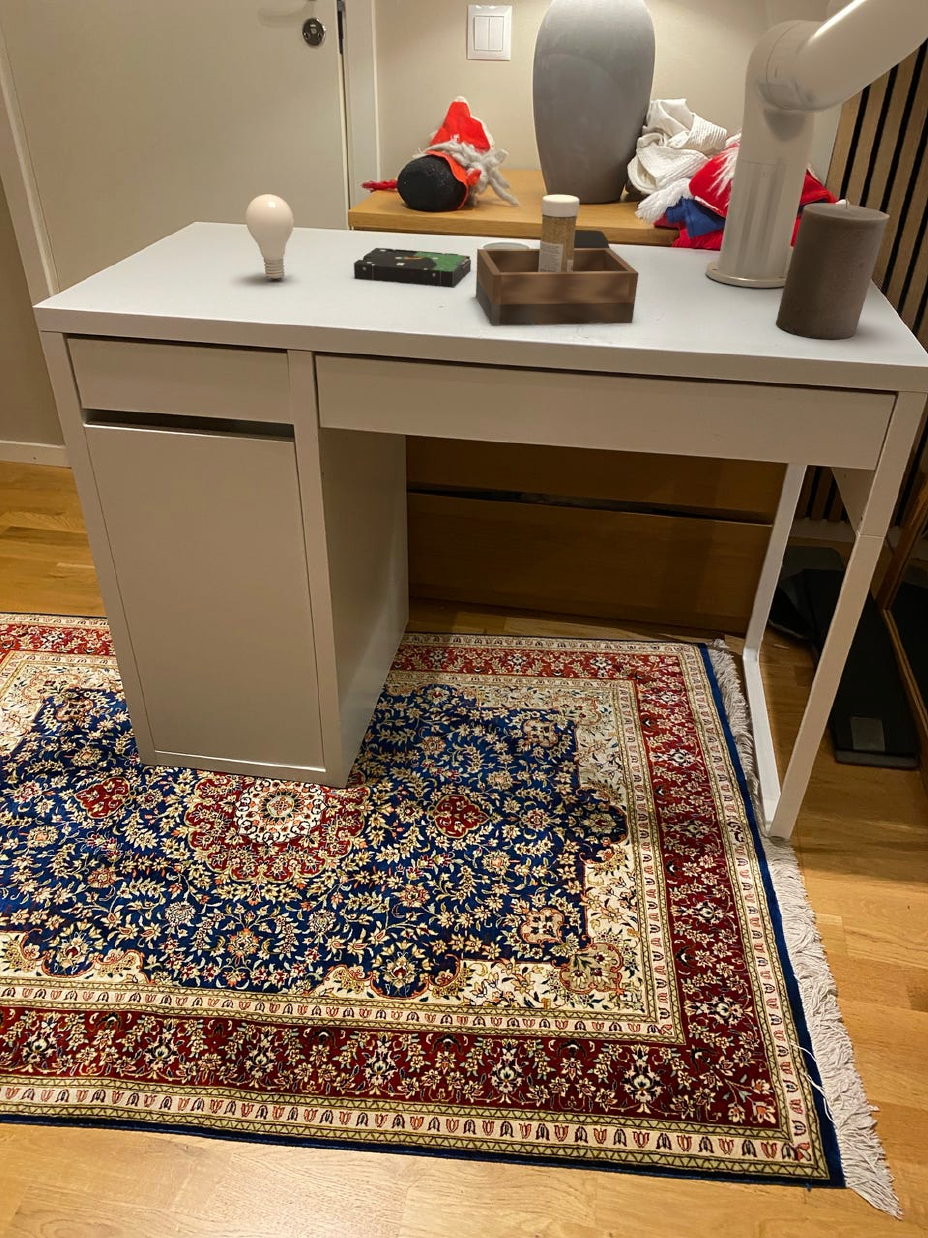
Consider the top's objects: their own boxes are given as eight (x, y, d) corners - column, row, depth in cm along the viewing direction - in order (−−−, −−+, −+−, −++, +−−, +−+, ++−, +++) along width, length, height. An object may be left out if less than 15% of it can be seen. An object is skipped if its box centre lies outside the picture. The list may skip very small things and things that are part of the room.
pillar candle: (781, 336, 109) (813, 203, 101) (771, 313, 117) (800, 188, 109) (863, 343, 108) (902, 209, 100) (847, 319, 116) (883, 193, 108)
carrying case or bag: (540, 245, 148) (541, 267, 136) (541, 225, 146) (543, 246, 134) (605, 247, 148) (612, 270, 136) (607, 228, 146) (614, 249, 134)
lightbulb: (273, 271, 129) (265, 188, 123) (307, 278, 126) (301, 193, 120) (242, 281, 124) (232, 194, 118) (278, 288, 122) (269, 200, 116)
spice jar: (576, 310, 116) (587, 198, 109) (549, 315, 114) (558, 201, 107) (555, 302, 120) (563, 192, 112) (527, 306, 117) (534, 194, 110)
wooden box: (605, 293, 123) (610, 247, 120) (632, 322, 113) (638, 272, 109) (475, 295, 121) (477, 249, 118) (491, 325, 111) (493, 274, 107)
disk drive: (353, 283, 127) (455, 291, 125) (352, 263, 126) (455, 270, 123) (376, 266, 136) (471, 272, 133) (375, 246, 134) (471, 252, 131)
